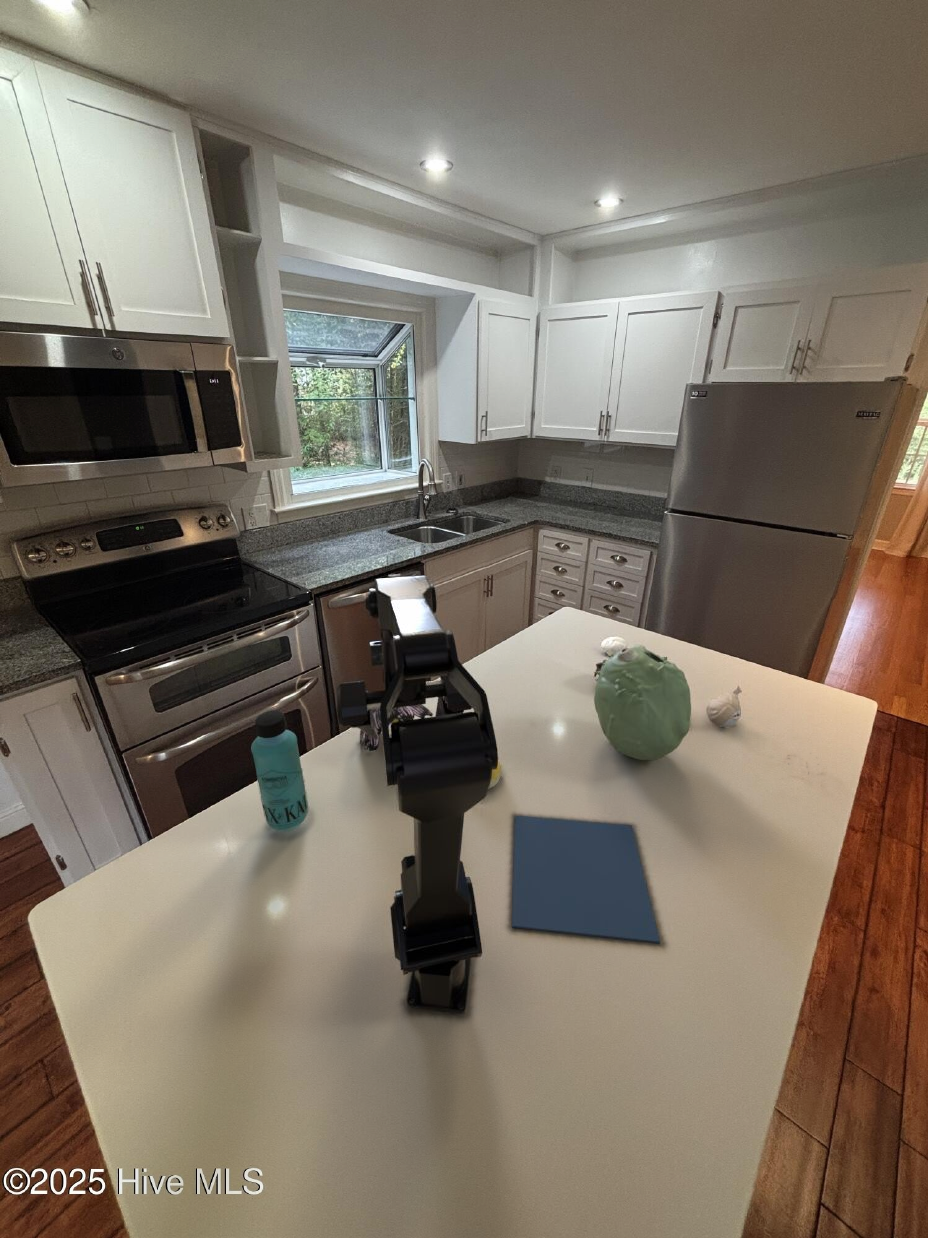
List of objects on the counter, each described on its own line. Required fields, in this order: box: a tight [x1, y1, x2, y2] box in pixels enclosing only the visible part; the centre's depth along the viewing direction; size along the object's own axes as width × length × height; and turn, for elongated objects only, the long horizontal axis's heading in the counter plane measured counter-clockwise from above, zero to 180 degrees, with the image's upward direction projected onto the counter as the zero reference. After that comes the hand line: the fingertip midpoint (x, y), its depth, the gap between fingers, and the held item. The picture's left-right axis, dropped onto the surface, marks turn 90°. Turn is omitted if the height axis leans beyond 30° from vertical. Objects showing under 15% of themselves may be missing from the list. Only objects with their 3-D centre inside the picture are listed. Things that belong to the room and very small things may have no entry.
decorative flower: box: [359, 704, 434, 752], centre depth 93 cm, size 14×12×15 cm
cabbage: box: [593, 644, 692, 761], centre depth 89 cm, size 16×19×20 cm
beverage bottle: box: [250, 710, 310, 832], centre depth 74 cm, size 6×7×20 cm
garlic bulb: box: [705, 685, 743, 728], centre depth 99 cm, size 7×6×8 cm
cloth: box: [511, 815, 661, 944], centre depth 70 cm, size 18×18×1 cm
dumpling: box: [600, 636, 628, 657], centre depth 127 cm, size 7×5×4 cm
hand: (406, 732), depth 75 cm, fingers open, 9 cm apart
